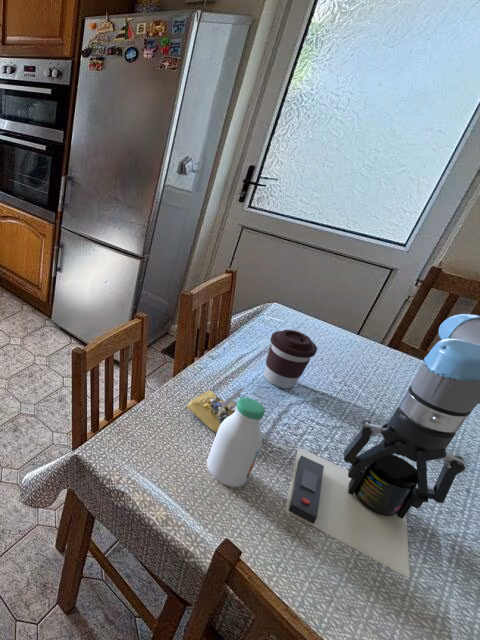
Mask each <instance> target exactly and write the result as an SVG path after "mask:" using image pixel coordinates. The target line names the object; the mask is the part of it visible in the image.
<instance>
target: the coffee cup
mask: <svg viewBox="0 0 480 640" xmlns="http://www.w3.org/2000/svg"><path fill="white" fill-rule="evenodd" d="M269 340H270V343H271V344H270V346H269V349H268V353H267V356H266V360H265V368H264V371H263V377H264V378H265V380H266V381H267V382H268V383H270V384H271V385H273V386H275V387H277V388H282V389H291V388H294V387H295V385H296V384H297V383H298V380H299V379H300V378H301V377H302V375H303V373H304V371H305V370H306V368H307V366H308V364H309V362H310V361H311V358H312V357H314V356H315V355H316V353H317V351H318V347H317V345H316V344H315V342H313V341H312V339H311V337H309V336H308V335H306V334H305V333H303V332H301V331H298V330H295V329H283V330H278V331H274V332H273V333H272V334H271V337H270V339H269Z"/></svg>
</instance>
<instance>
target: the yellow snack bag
mask: <svg viewBox="0 0 480 640" xmlns="http://www.w3.org/2000/svg"><path fill="white" fill-rule="evenodd" d="M244 388H245V386H243V387H242V388H240V389H239V390H238V391H236V392H235V393H233V394H232V395H231V396H229V397H228V398H227V399H225V400H223V399H222V398H220V397H219V396H218V395H217V394H216V393H215V392H213V391H211V390H207V391H205V392H204V393H202V394H200V395H198V396H196V397H195V398H194V399H192V400H191V401H190V402H188V404H186V408H187V409H188V410H189V411H190V412H191V413H193V415H195V417H197V418H198V419H199V420H200V422H202V423H203V424H205V426H206V427H208V428H209V429H210V430H211V431H213V432H215V433H217V431H218V429H219V427H220V425H221V423H222V422H223V421H224V420H225V419H226V418H227V417H229V416H230V415H232V414H233V413H234V412H235V411H236V409H235V408H236V406H237V403H236V402H235V401H234V400H236V399H237V398H238V397H239V396H240V395H241V393H242V391H243V390H244Z"/></svg>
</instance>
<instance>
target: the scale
mask: <svg viewBox="0 0 480 640" xmlns="http://www.w3.org/2000/svg"><path fill="white" fill-rule="evenodd" d="M301 455H302V456H304V457H306V458H308V459H310V460H312V461H315V462H317V463H319V464H321V465H323V466H324V469H323V476H322V484H321V491H320V499H319V506H318V514H317V518H316V520H315V522H314V524H312V523H311V522H309V521H307V520H305V519H303V518H301V517H300V516H298V515H296V514H294V513H292V512H290V511H289V506H290V501H291V496H292V491H293V486H294V481H295V476H296V470H297V465H298V461H299V459H300V457H301ZM348 470H349V469H346V468H344V467H342V466H340V465H337V464H335V463H333V462H331V461H329V460H327V459H325V458H322V457H320V456H319V455H316V454H313V453H311V452H309V451H308V450H305V449H303V448H301V447H297V450H296V455H295V461H294V465H293V469H292V475H291V480H290V485H289V489H288V495H287V499H286V503H285V504H286V505H285V510H284V511H285V512H286V513H288V514H290V515H292V516H293V517H295V518H297V519H299V520H300V521H302V522H304V523H306V524H308V525H310V526H312V527H314V528H316V529H317V530H319V531H321V532H323V533H324V534H326V535H328V536H329V537H331V538H333V539H336V540H337V541H340V542H341V543H343V544H345V545H347V546H349V547H350V548H352V549H354V550H356V551H357V552H359V553H361V554H363V555H365V556H366V557H369V558H370V559H372V560H375V561H376V562H378V563H379V564H381V565H383V566H386V567H387V568H389V569H391V570H392V571H395V572H397V573H398V574H400V575H402V576H404V577H406V578H407V579H409V580H411V573H410V572H411V570H410V556H409V555H410V554H409V538H408V522H407V519H408V518H407V514H406V515H405V516H404V518H403V519H401V518H399V517H397V514H396V515H393V516H384V515H380V514H377V513H375V512H373V511H371V510H369V509H368V508H366V507H365V506H364V505H363V504H362V503H361V502H360V501H359V500H358V499H357V497H356V495H355V493H354V494H353V495H352V494H349V493H348V487H349V482H350V481H351V478H349V477H348Z"/></svg>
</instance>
